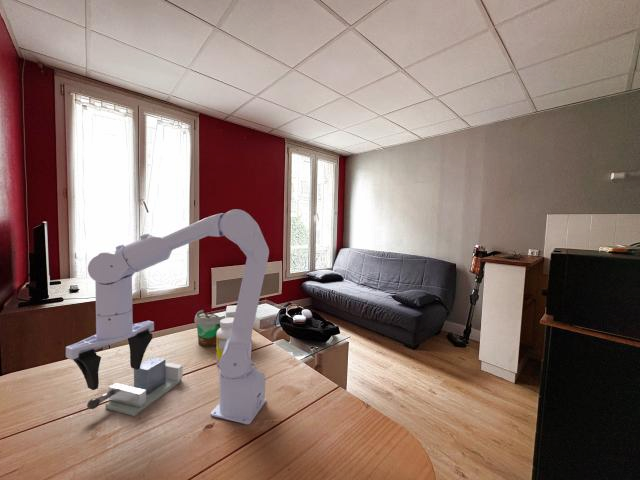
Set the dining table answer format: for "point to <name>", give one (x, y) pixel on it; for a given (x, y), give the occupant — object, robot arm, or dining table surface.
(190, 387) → the dining table surface
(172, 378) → the base
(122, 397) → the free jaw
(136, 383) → the block
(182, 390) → the dining table surface
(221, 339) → the supplement bottle
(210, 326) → the food container
